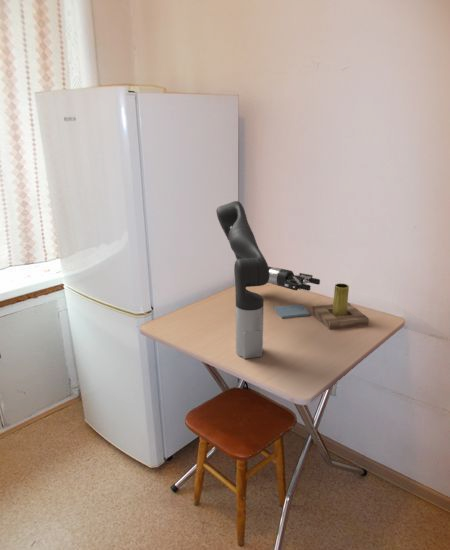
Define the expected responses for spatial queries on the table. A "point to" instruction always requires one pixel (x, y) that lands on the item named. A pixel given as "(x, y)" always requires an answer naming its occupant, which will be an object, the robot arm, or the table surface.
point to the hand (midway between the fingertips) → (314, 285)
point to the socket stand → (340, 317)
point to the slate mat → (291, 311)
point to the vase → (340, 300)
